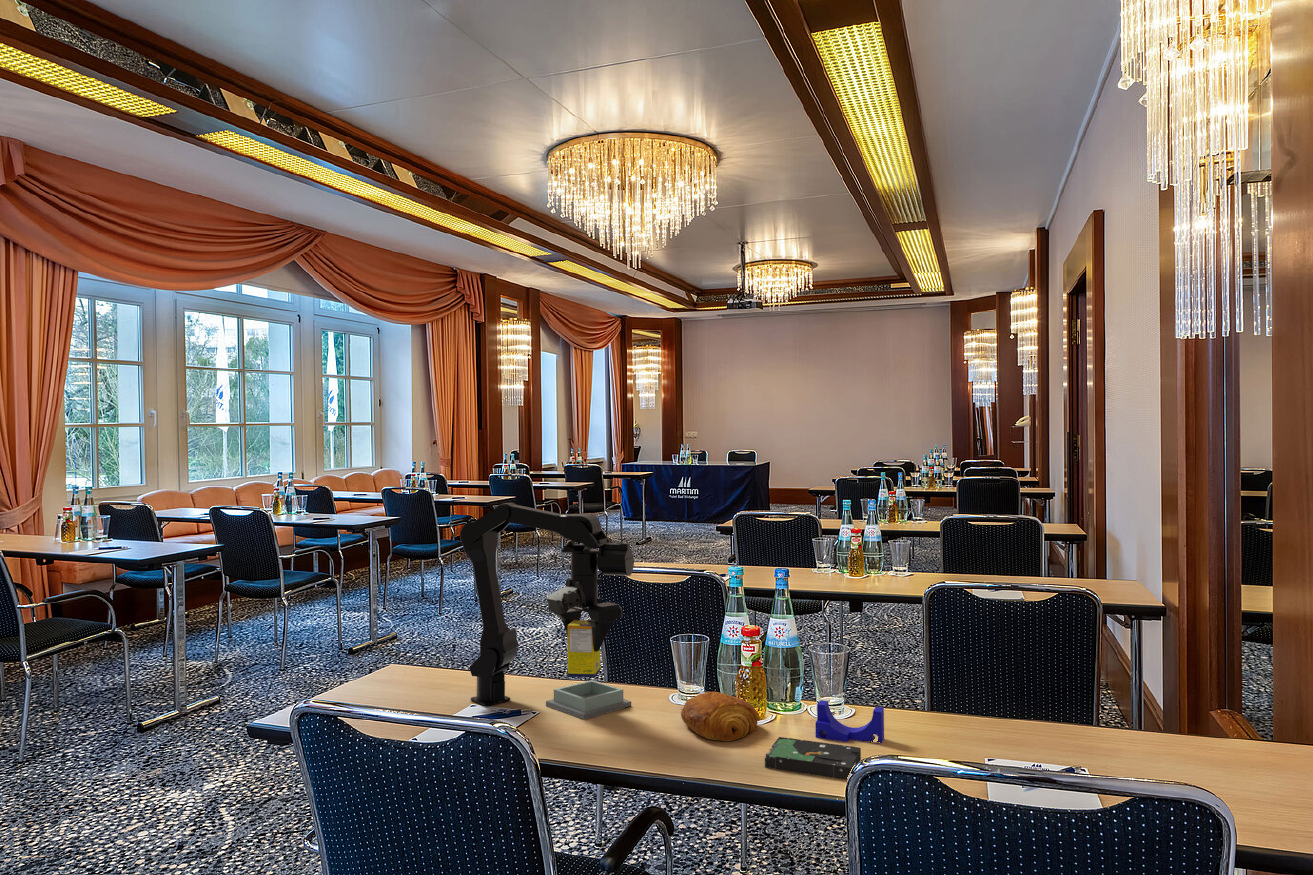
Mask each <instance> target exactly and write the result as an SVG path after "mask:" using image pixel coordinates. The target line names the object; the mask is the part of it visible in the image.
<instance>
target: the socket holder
mask: <svg viewBox="0 0 1313 875" xmlns="http://www.w3.org/2000/svg"><path fill="white" fill-rule="evenodd" d="M545 706H546V707H548V708H551V709H554V710H557V711H559V712H562V713H564V714H567V715H570V716H573V717H576V718H578V719H581V720H588V719H590V718H594V717H598V716H602V715H605V714H608V713H611V712H612V713H613V712H615V711H619V710H623V709H626V708H625V707H627V708H629V707H628V706H630V707H632V701H631V700H628V699H625V698H624V689H622V688H620V687H616V686H612V685H610V684H607V683H606V684H605V683H603V682H601V681H597V680H592V679H591V680H587V681H583V682H579V683H575V684H571V685H567V686H562V687H559V688H554V689H553V699H549V700H546V701H545ZM622 708H623V709H622Z"/></svg>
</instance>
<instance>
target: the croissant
mask: <svg viewBox="0 0 1313 875" xmlns="http://www.w3.org/2000/svg"><path fill="white" fill-rule="evenodd" d="M680 716H681V720H682V721H683V722H684V724H685V725H686V726H687V727H688V728H690V729H691V731H693V732H695V733H696V734H697V735H699V736H701V737H703V738H705V739H708V740H713V741H717V742H718V741H721V742H722V741H723V742H732V741H735V740H739V739H743V738H745V737H746V736H747V735H752V734H754V733H755V731H756V730H757V728H758V726H757V725H758V723H759V721H760V720H761V717H760V715H759V713H758V711H757V710H756V709H755V707H754V706H753V705H751V704H750V703H749V702H747V701H746V700H743V699H741V698H740V697H736V696H733V695H730V694H727V693H723V692H718V691H709V692H703V693H702V692H701V693H699V694H697V695H696V696H694V697H690V698H689V699H688V700H687V701H685V703H684V705H683V707H682V709H681V711H680Z"/></svg>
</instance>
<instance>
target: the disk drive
mask: <svg viewBox="0 0 1313 875" xmlns="http://www.w3.org/2000/svg"><path fill="white" fill-rule="evenodd" d="M861 754H862V748H861V747H860V746H858V747H857V746H853V745H852V746H851V745H844V744H837V743H836V744H835V743H829V742H820V741H813V740H805V739H798V738H792V737H785V736H784V737H783V736H778V737H777V739H776V740H775V741H774V743H772V745H771V747H770V749H769V750H768V752H766V753H765V756H764V768H765V769H771V770H772V769H773V770H777V771H783V772H784V771H785V772H791V773H798V774H799V773H800V774H806V775H811V776H819V777H825V778H833V779H838V780H844V779H845V780H846V781H848V780H847V777H848V775H849V773H850V771H851V769H852V767H853V766H854V765H856V764H857V763H858V762H859V761H860V760H862V756H861ZM860 762H861V761H860Z"/></svg>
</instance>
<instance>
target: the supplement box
mask: <svg viewBox="0 0 1313 875" xmlns="http://www.w3.org/2000/svg"><path fill="white" fill-rule="evenodd" d="M587 620H588V619H584V620H583V619H580V620H573V621H572V622H571V623H570V624H569V625H568V627H567V628H568V630H567V631H568V637H567V648H566V649H567V677H568V678H593V679H594V678H596V677H597V675H598V674H599V673H600V672H601V649H600V650H599V651H597V652H595V651H594V648H593V636H592V626H591V625H590V624H589V623H588V622H587Z"/></svg>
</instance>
